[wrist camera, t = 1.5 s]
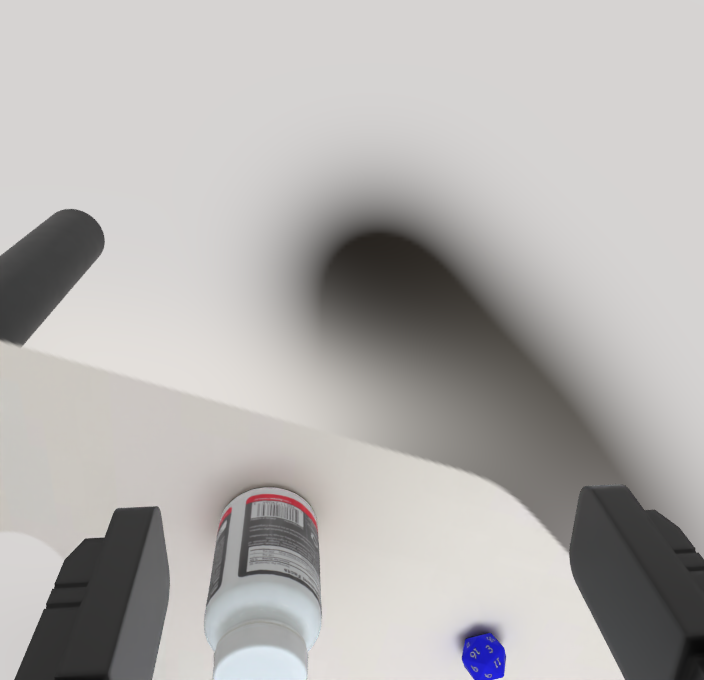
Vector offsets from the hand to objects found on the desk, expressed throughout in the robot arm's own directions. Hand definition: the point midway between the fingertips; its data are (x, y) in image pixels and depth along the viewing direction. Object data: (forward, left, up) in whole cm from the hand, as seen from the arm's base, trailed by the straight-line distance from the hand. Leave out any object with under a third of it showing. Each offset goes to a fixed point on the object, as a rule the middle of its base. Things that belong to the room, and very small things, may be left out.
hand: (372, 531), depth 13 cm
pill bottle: (+6, -15, -20) cm, 26 cm away
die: (+22, -16, -20) cm, 34 cm away
